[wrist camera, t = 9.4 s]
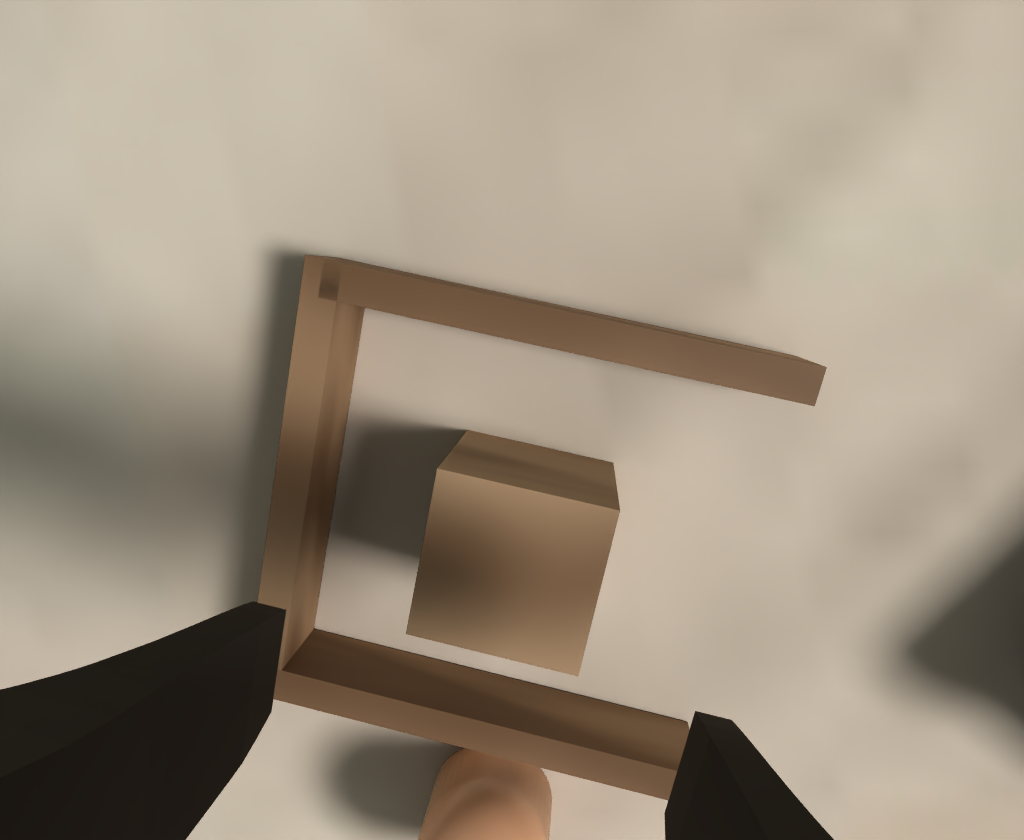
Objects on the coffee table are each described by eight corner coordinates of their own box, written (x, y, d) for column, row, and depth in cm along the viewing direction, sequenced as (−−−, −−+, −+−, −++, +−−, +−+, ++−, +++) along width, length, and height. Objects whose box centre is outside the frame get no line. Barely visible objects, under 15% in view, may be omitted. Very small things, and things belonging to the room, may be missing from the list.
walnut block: (579, 597, 22) (578, 676, 18) (441, 563, 22) (406, 634, 18) (613, 462, 21) (619, 510, 17) (468, 429, 21) (437, 468, 17)
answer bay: (679, 748, 22) (690, 806, 20) (280, 648, 23) (244, 691, 21) (796, 356, 20) (826, 367, 17) (338, 257, 20) (305, 255, 18)
